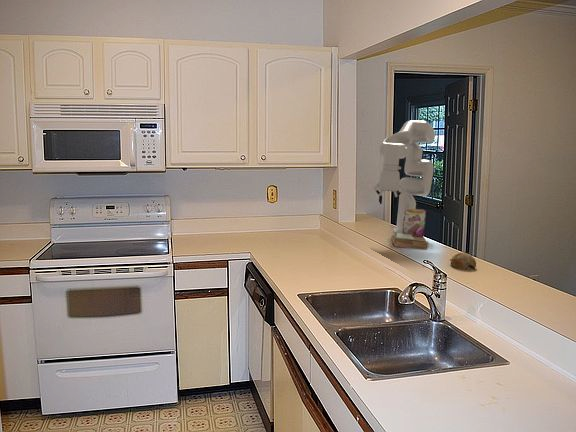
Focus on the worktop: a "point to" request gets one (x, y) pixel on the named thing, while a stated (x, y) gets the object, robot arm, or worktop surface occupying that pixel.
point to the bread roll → (463, 261)
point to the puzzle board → (411, 242)
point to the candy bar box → (413, 222)
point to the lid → (402, 235)
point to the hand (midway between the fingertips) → (387, 203)
